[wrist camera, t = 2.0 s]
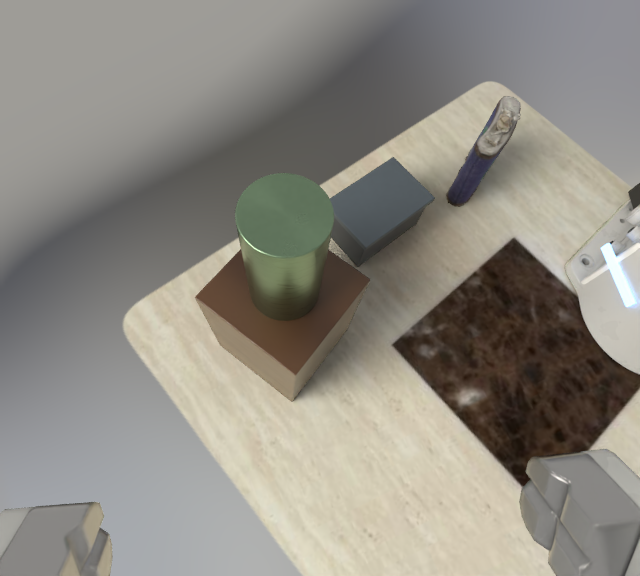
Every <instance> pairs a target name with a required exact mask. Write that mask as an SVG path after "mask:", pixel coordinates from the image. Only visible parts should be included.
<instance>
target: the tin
mask: <svg viewBox="0 0 640 576" xmlns="http://www.w3.org/2000/svg"><path fill="white" fill-rule="evenodd" d="M235 220H236V226H237V231H238V236H239V241H240V246H241V251H242V256H243V261H244V266H245V271H246V276H247V281H248V286H249V291H250V296H251V299H252V301H253V303H254V305H255V307H256V308H257V309H258V310H259V311H260V312H261V313H262V314H264V315H265V316H267V317H269V318H272V319H275V320H279V321H290V320H294V319H298V318H300V317H302V316H304V315H305V314H307V313H308V312H309V311H310V310H311V309H312V308H313V307H314V305H315V304H316V302H317V299H318V296H319V292H320V287H321V282H322V277H323V272H324V267H325V262H326V257H327V253H328V248H329V243H330V238H331V233H332V228H333V223H334V210H333V206H332V203H331V201H330V199H329V197H328V195H327V194H326V193H325V191H324V190H323V189H322V188H321V187H320V186H319V185H317V184H316V183H315V182H313V181H311V180H310V179H307V178H305V177H303V176H299V175H295V174H288V173H279V174H272V175H268V176H265V177H262V178H260V179H258V180H257V181H255V182H254V183H252V184H251V185H250V186H249V187H247V188H246V189H245V191H244V192H243V193H242V195H241V196H240V198H239V200H238V203H237V206H236V211H235Z"/></svg>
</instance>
